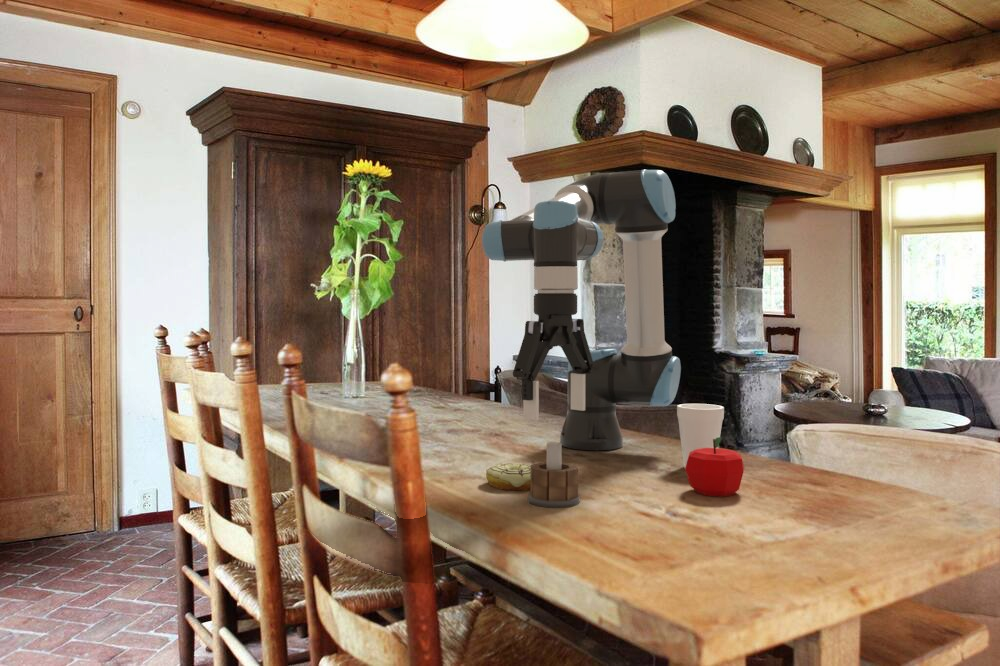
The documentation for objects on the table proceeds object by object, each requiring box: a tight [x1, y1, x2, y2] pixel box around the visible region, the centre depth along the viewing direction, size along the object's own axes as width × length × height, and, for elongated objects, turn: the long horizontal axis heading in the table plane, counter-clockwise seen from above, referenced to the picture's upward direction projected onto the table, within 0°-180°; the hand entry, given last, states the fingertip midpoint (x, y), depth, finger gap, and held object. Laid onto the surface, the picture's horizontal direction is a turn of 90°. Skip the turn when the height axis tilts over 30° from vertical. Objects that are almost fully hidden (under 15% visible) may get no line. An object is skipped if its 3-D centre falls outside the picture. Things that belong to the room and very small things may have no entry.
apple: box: [684, 437, 745, 497], centre depth 146 cm, size 11×11×10 cm
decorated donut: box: [485, 462, 530, 491], centre depth 151 cm, size 10×11×4 cm
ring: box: [529, 461, 579, 501], centre depth 139 cm, size 8×8×5 cm
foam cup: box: [676, 403, 725, 469], centre depth 168 cm, size 10×9×13 cm
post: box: [527, 442, 581, 509], centre depth 139 cm, size 9×9×10 cm
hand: (555, 414), depth 139 cm, fingers open, 13 cm apart
